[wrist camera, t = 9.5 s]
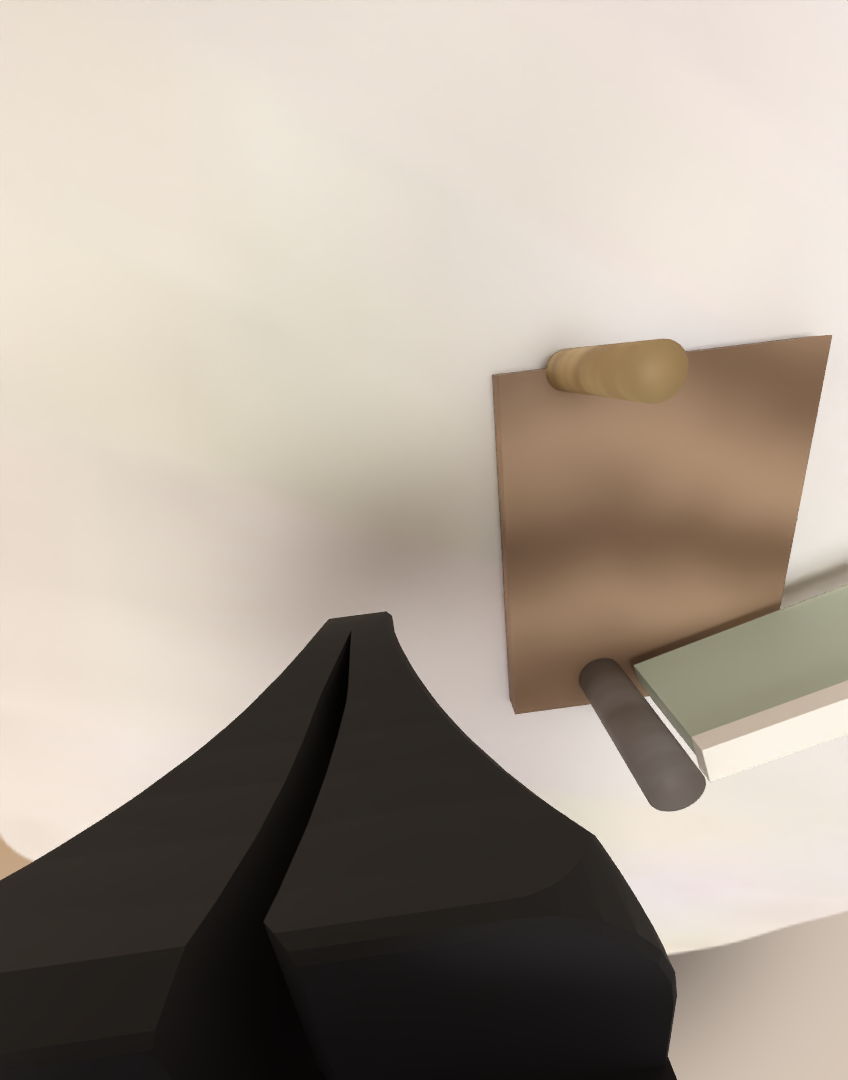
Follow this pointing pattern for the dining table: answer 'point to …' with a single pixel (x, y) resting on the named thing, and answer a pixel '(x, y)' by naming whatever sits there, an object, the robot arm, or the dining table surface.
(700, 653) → the gate leaf
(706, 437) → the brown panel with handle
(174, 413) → the dining table surface
